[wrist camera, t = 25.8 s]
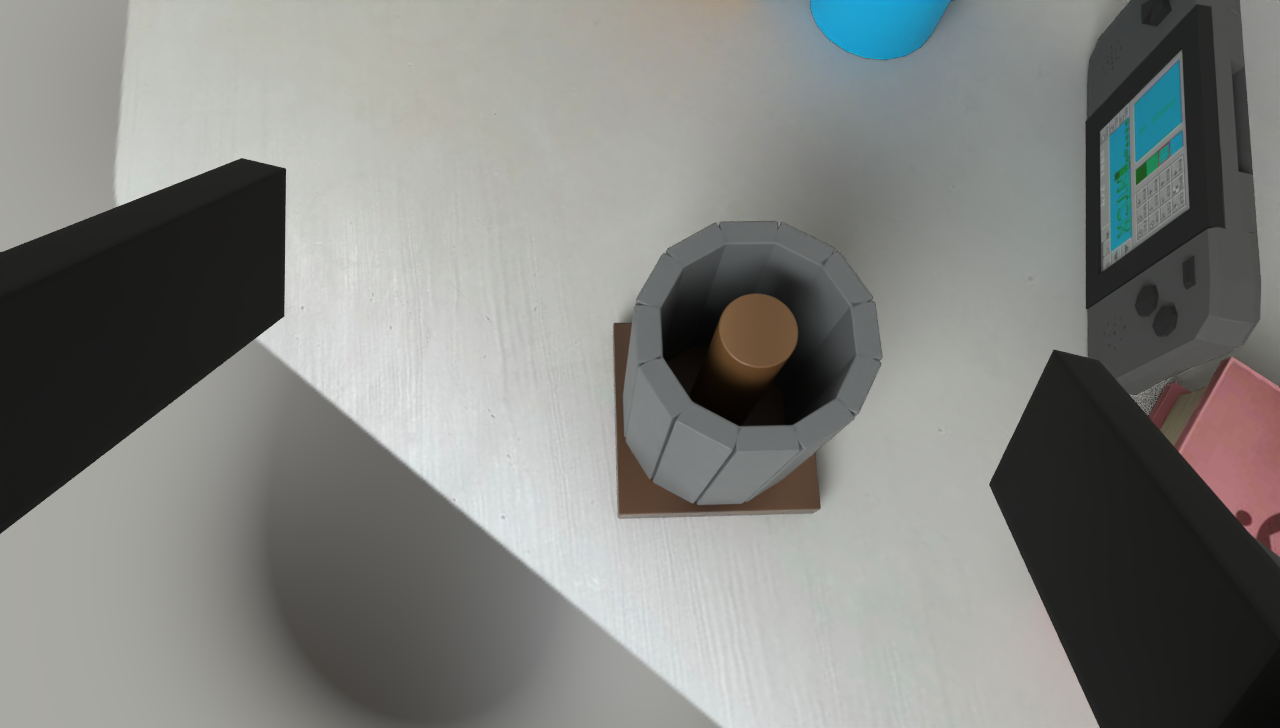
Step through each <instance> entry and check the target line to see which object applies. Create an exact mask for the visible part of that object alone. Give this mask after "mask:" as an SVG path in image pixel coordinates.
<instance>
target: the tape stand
mask: <svg viewBox="0 0 1280 728" xmlns="http://www.w3.org/2000/svg"><path fill="white" fill-rule="evenodd" d="M631 328H632V323H614V325H613V356H614V394H615V431H616V469H617V506H618V518H619V519H624V518H660V517H696V516H732V515H768V514H804V513H814V512H816V511H817V510H819V509H820V508H821V507H820V497H819V488H818V478H817V468H816V458H815V453H814V454H812V455H811V456H810V457H809V458H808V459H806V460H805V461H804V462H803V463H802V464H801V465H799V466H798V467H797V468H796V469H795V470H793V471H792V472H791V473H790V474H789V475H788V476H786V477H785V478H784V479H783V480H781V481H780V482H778V483H777V484H775V485H773V486H772V487H770V488H769V489H767V490H766V491H764V492H763V493H761V494H759V495H758V496H756V497H755V498H753V499H752V500H750V501H748V502H744V503H742V504H717V505H697V501H695V502H694V503H690V502H688V501H687V500H685V499H683V498H681V497H679V496H677V495H675V494H674V493H672V492H670V491H668V490H666V489H664V488H662V487H660V486H659V485H657V484H655V483H653V479H654V478H652V479H649V478H648V476H647V475H646V473H645V472H644V470H643V469H642V467H641V465H640V464H639V462H638V461H637V459H636V457H635V456H634V454H633V453H632V451H631V449H630V448H629V446H628V445H627V443H626V437H624V415H623V391H624V383H625V375H626V367H627V359H628V351H629V344H630V336H631ZM797 341H798V326H797V322H796V319H795V317H794V315H793V314H792V312H791V311H790V309H789V308H788V307H787V306H786V305H785V304H784V303H782V302H781V301H780V300H778V299H776V298H774V297H772V296H769V295H766V294H757V293H755V294H747V295H743V296H740V297H738V298H736V299H735V300H733V301H732V302H731V303H730V304H729V305H728V306H727V307H726V308H725V310H724V311H723V313H722V315H721V317H720V320H719V323H718V325H717V328H716V330H715V333H714V335H713V338H712V340H711V343H710V345H709V347H691V348H689V349H687V350H686V351H684V352H682V353H680V354H679V355H677V356H675V357H674V358H672V359H670V360H668V361H667V362H666V363H667V364H668V366H669V367H670V369H671V370H672V372H673V373H674V375H675V376H676V378H677V379H678V381H679V382H680V384H681V385H682V387H683V388H684V390H685V391H686V393H687V394H688V396H689V397H690V399H691V400H692V402H694V403H696V404H698V405H700V406H702V407H704V408H706V409H708V410H709V411H711V412H713V413H715V414H717V415H719V416H721V417H723V418H725V419H727V420H729V421H731V422H732V423H734V424H736V425H738V426H766V425H785V418H784V407H783V396H782V393H781V392H780V390H779V389H778V387H777V386H776V384H775V383H774V381H773V380H774V379H775V377H776V376H777V374H778V373H779V371H780V370H781V369H782V367H783V366H784V364H785V363H786V361H787V360H788V359H789V357H790V356H791V354H792V353H793V351H794V349H795V347H796V345H797Z"/></svg>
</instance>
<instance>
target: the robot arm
mask: <svg viewBox="0 0 1280 728" xmlns="http://www.w3.org/2000/svg"><path fill="white" fill-rule="evenodd" d="M285 205H286V169H285V168H281V167H277V166H273V165H268V164H264V163H260V162H256V161H251V160H247V159H243V158H241V159H239V160H236V161H233V162H231V163H228V164H226V165H223V166H221V167H218V168H216V169H213V170H210V171H208V172H205V173H203V174H200V175H198V176H195V177H193V178H190V179H187V180H185V181H182V182H180V183H177V184H175V185H172V186H170V187H167V188H164V189H162V190H159V191H157V192H154V193H152V194H149V195H147V196H144V197H141V198H139V199H136V200H134V201H131V202H129V203H126V204H124V205H121V206H118V207H116V208H113V209H111V210H108V211H106V212H103V213H101V214H98V215H96V216H93V217H90V218H88V219H85V220H83V221H80V222H78V223H75V224H73V225H70V226H68V227H65V228H62V229H60V230H57V231H55V232H52V233H50V234H47V235H44V236H42V237H39V238H37V239H34V240H32V241H29V242H27V243H24V244H21V245H19V246H16V247H14V248H11V249H9V250H6V251H4V252H0V534H1V533H2V532H3V531H4V530H6V529H7V528H8V527H10V526H11V525H12V524H14V523H15V522H16V521H17V520H19V519H20V518H21V517H23V516H24V515H25V514H27V513H28V512H29V511H30V510H32V509H33V508H34V507H36V506H37V505H38V504H40V503H41V502H42V501H44V500H45V499H46V498H47V497H49V496H50V495H51V494H53V493H54V492H55V491H57V490H58V489H59V488H61V487H62V486H63V485H65V484H66V483H67V482H68V481H70V480H71V479H72V478H73V477H75V476H76V475H77V474H79V473H80V472H81V471H83V470H84V469H85V468H87V467H88V466H89V465H90V464H92V463H93V462H95V461H96V460H97V459H98V458H100V457H101V456H102V455H104V454H105V453H106V452H108V451H109V450H110V449H112V448H113V447H114V446H115V445H117V444H118V443H119V442H121V441H122V440H123V439H125V438H126V437H127V436H129V435H130V434H131V433H132V432H134V431H135V430H136V429H137V428H139V427H140V426H142V425H143V424H144V423H145V422H147V421H148V420H149V419H151V418H152V417H153V416H155V415H156V414H157V413H158V412H160V411H161V410H162V409H164V408H165V407H166V406H168V404H170V403H172V402H173V401H174V400H175V399H177V398H178V397H179V396H181V395H182V394H183V393H185V392H186V391H187V390H189V389H190V388H191V387H192V386H194V385H195V384H196V383H198V382H199V381H200V380H202V379H203V378H204V377H206V376H207V375H208V374H209V373H211V372H212V371H213V370H215V369H216V368H217V367H218V366H220V365H221V364H223V363H224V362H225V361H226V360H227V359H229V358H230V357H232V356H233V355H234V354H236V353H237V352H238V351H239V350H241V349H242V348H243V347H245V346H246V345H247V344H249V343H250V342H251V341H253V340H254V339H255V338H256V337H258V336H259V335H260V334H262V333H263V332H264V331H266V330H267V329H268V328H269V327H271V326H272V325H273V324H275V323H276V322H277V321H279V320H280V319H281V318H283V317H284V294H285ZM989 485H990V487H991V490H992V492H993V494H994V496H995V498H996V501H997V503H998V505H999V507H1000V509H1001V512H1002V514H1003V516H1004V518H1005V520H1006V523H1007V525H1008V527H1009V529H1010V531H1011V534H1012V536H1013V538H1014V540H1015V542H1016V545H1017V547H1018V549H1019V551H1020V553H1021V556H1022V558H1023V560H1024V562H1025V564H1026V567H1027V569H1028V571H1029V573H1030V575H1031V578H1032V580H1033V582H1034V584H1035V586H1036V589H1037V591H1038V593H1039V595H1040V597H1041V600H1042V602H1043V604H1044V606H1045V608H1046V611H1047V613H1048V615H1049V617H1050V619H1051V622H1052V624H1053V626H1054V628H1055V630H1056V632H1057V635H1058V637H1059V639H1060V641H1061V643H1062V646H1063V648H1064V650H1065V652H1066V654H1067V657H1068V659H1069V661H1070V663H1071V665H1072V668H1073V670H1074V672H1075V674H1076V676H1077V679H1078V681H1079V683H1080V685H1081V687H1082V690H1083V692H1084V694H1085V696H1086V698H1087V701H1088V703H1089V705H1090V707H1091V709H1092V712H1093V714H1094V716H1095V718H1096V720H1097V723H1098V725H1099V727H1100V728H1280V557H1279V556H1278V555H1277V554H1275V553H1274V552H1273V551H1271V550H1270V549H1269V548H1268V547H1266V546H1265V545H1264V544H1262V543H1261V542H1260V541H1258V540H1257V539H1256V538H1254V537H1253V536H1252V535H1251V534H1250V533H1249V532H1248V531H1247V530H1246V529H1245V527H1244V526H1243V525H1242V524H1241V523H1240V522H1239V520H1238V519H1237V518H1236V517H1235V516H1234V515H1233V514H1232V512H1231V511H1230V510H1229V509H1228V508H1227V507H1226V506H1225V504H1224V503H1223V502H1222V501H1221V500H1220V499H1219V497H1218V496H1217V495H1216V494H1215V493H1214V492H1213V491H1212V489H1211V488H1210V487H1209V486H1208V485H1207V484H1206V483H1205V481H1204V480H1203V479H1202V478H1201V477H1200V476H1199V475H1198V473H1197V472H1196V471H1195V470H1194V469H1193V468H1192V466H1191V465H1190V464H1189V463H1188V462H1187V461H1186V460H1185V458H1184V457H1183V456H1182V455H1181V454H1180V453H1179V452H1178V450H1177V449H1176V448H1175V447H1174V446H1173V445H1172V443H1171V442H1170V441H1169V440H1168V439H1167V438H1166V437H1165V435H1164V434H1163V433H1162V432H1161V431H1160V430H1159V429H1158V427H1157V426H1156V425H1155V424H1154V423H1153V422H1152V421H1151V419H1150V418H1149V417H1148V416H1147V415H1146V414H1145V412H1144V411H1143V410H1142V409H1141V408H1140V407H1139V406H1138V404H1137V403H1136V402H1135V401H1134V400H1133V399H1132V398H1131V396H1130V395H1129V394H1128V393H1127V392H1126V391H1125V389H1124V388H1123V387H1122V386H1121V385H1120V384H1119V383H1118V381H1117V380H1116V379H1115V378H1114V377H1113V376H1112V375H1111V373H1110V372H1109V371H1108V370H1107V369H1106V368H1105V367H1104V365H1103V364H1102V363H1101V362H1100V361H1099V360H1095V359H1091V358H1087V357H1083V356H1078V355H1074V354H1070V353H1066V352H1061V351H1057V350H1053V352H1052V354H1051V356H1050V358H1049V361H1048V363H1047V365H1046V367H1045V369H1044V371H1043V373H1042V375H1041V377H1040V379H1039V381H1038V384H1037V386H1036V388H1035V390H1034V392H1033V394H1032V396H1031V398H1030V400H1029V402H1028V404H1027V406H1026V409H1025V411H1024V413H1023V415H1022V417H1021V419H1020V421H1019V423H1018V425H1017V427H1016V429H1015V432H1014V434H1013V436H1012V438H1011V440H1010V442H1009V444H1008V446H1007V448H1006V450H1005V452H1004V455H1003V457H1002V459H1001V461H1000V463H999V465H998V467H997V469H996V471H995V473H994V475H993V477H992V480H991V482H990V484H989Z"/></svg>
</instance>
